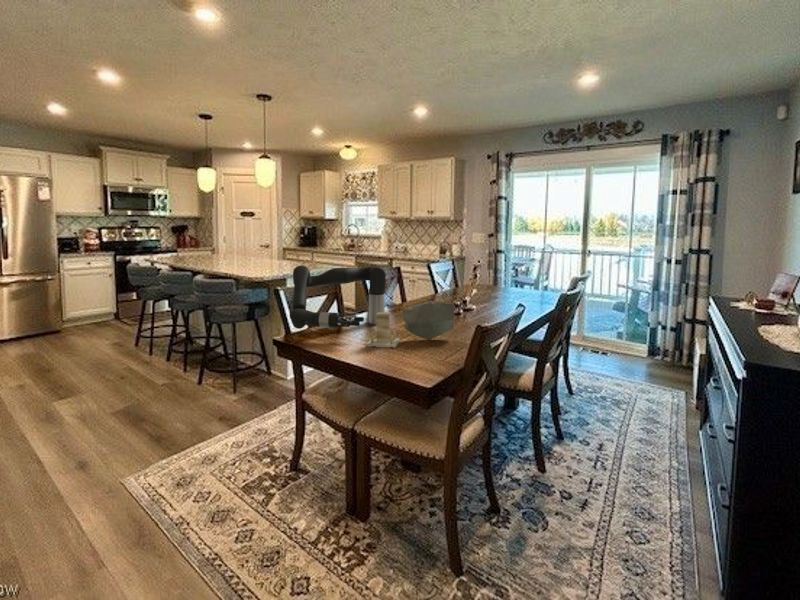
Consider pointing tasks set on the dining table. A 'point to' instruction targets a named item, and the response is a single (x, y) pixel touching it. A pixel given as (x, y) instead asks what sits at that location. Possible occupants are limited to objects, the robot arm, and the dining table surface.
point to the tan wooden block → (383, 327)
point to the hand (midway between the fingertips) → (361, 321)
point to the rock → (429, 319)
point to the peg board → (392, 342)
